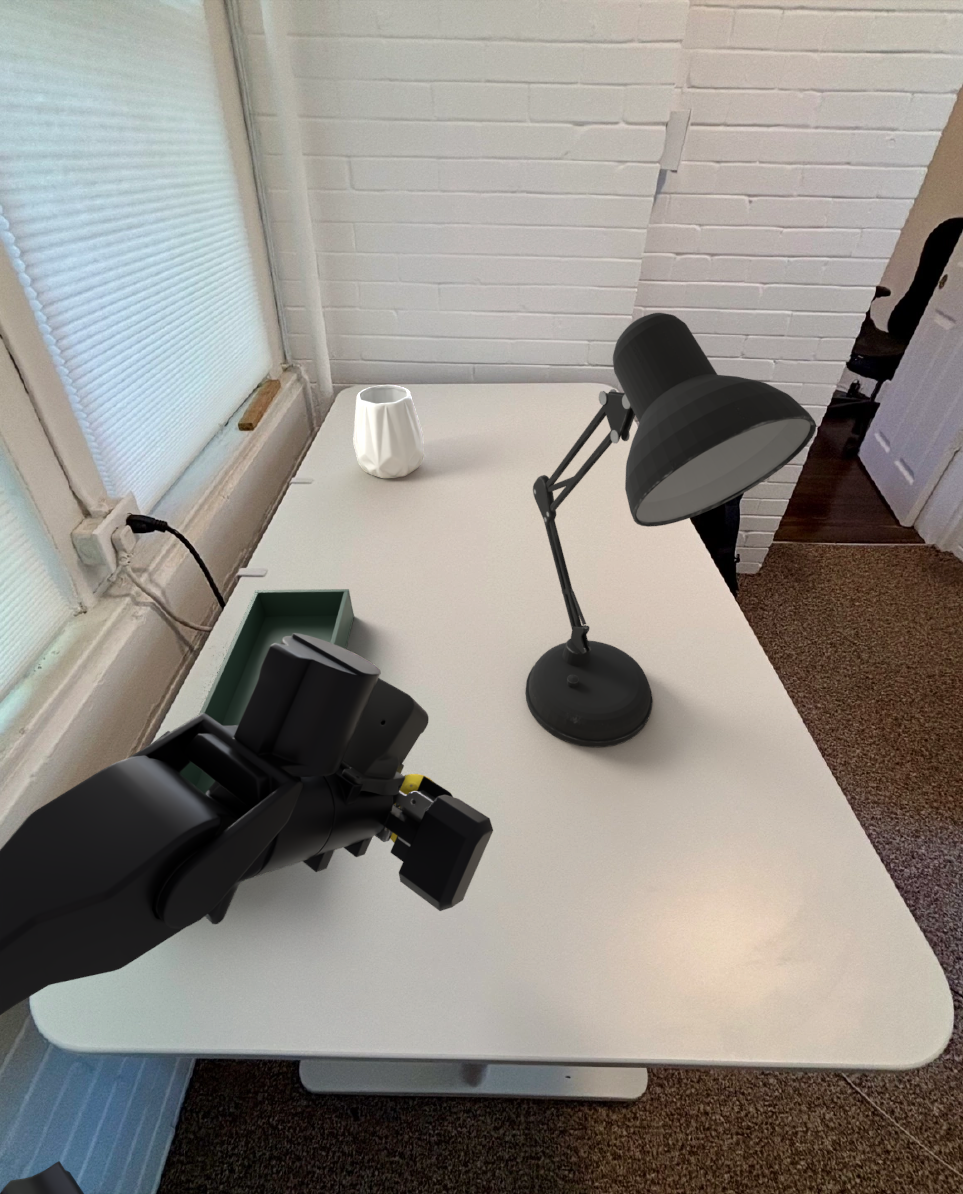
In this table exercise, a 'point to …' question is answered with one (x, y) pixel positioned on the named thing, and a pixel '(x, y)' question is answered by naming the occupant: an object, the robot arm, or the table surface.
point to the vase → (387, 432)
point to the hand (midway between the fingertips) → (422, 783)
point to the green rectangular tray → (258, 630)
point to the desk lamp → (655, 501)
